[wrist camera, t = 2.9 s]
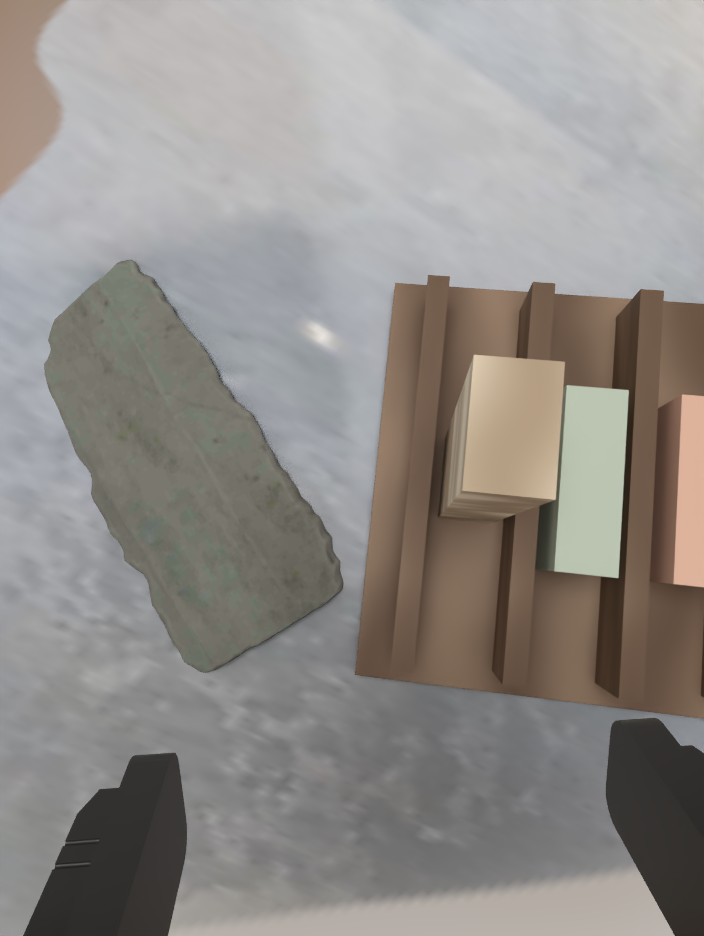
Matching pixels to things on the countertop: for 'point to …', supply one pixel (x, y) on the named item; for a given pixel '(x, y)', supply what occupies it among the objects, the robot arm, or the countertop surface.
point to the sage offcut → (586, 485)
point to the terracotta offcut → (679, 494)
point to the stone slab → (184, 474)
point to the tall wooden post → (503, 439)
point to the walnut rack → (527, 511)
